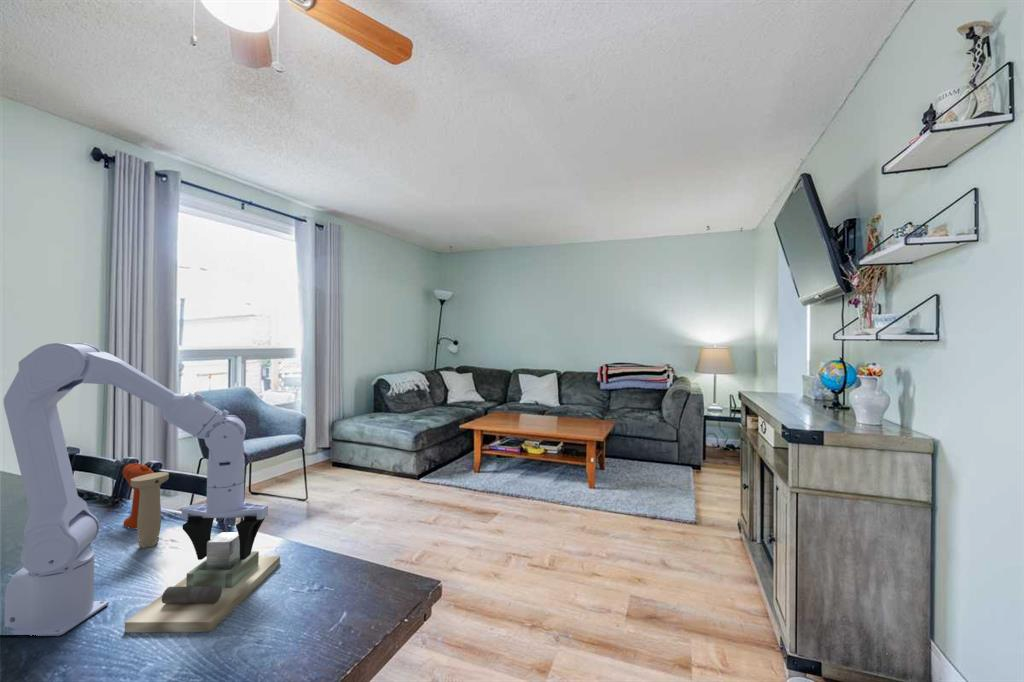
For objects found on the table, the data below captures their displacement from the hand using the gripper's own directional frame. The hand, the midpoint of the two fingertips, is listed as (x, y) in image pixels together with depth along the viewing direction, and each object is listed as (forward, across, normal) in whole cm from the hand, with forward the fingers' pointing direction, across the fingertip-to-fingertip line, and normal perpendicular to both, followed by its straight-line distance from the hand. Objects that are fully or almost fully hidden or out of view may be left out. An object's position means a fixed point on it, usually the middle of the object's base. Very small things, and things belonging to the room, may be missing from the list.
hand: (224, 557), depth 77 cm
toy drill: (+5, +41, -28) cm, 50 cm away
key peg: (+3, 0, 0) cm, 3 cm away
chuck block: (+5, 0, +3) cm, 6 cm away
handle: (+5, +26, -15) cm, 30 cm away
